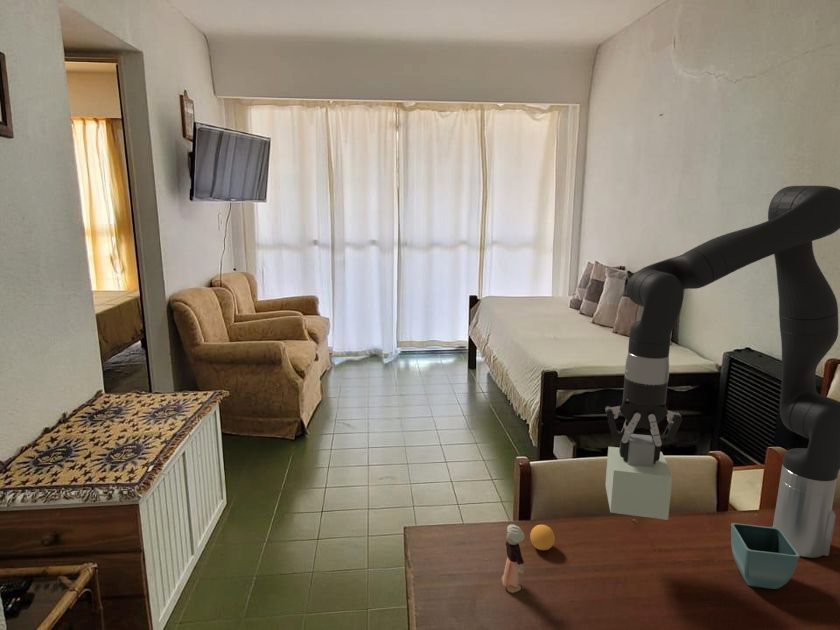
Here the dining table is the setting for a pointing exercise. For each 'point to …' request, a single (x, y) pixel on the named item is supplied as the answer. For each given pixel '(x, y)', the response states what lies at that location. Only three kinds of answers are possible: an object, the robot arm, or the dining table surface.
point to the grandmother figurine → (513, 559)
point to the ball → (542, 537)
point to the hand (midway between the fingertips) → (638, 459)
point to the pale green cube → (638, 480)
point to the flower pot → (763, 555)
